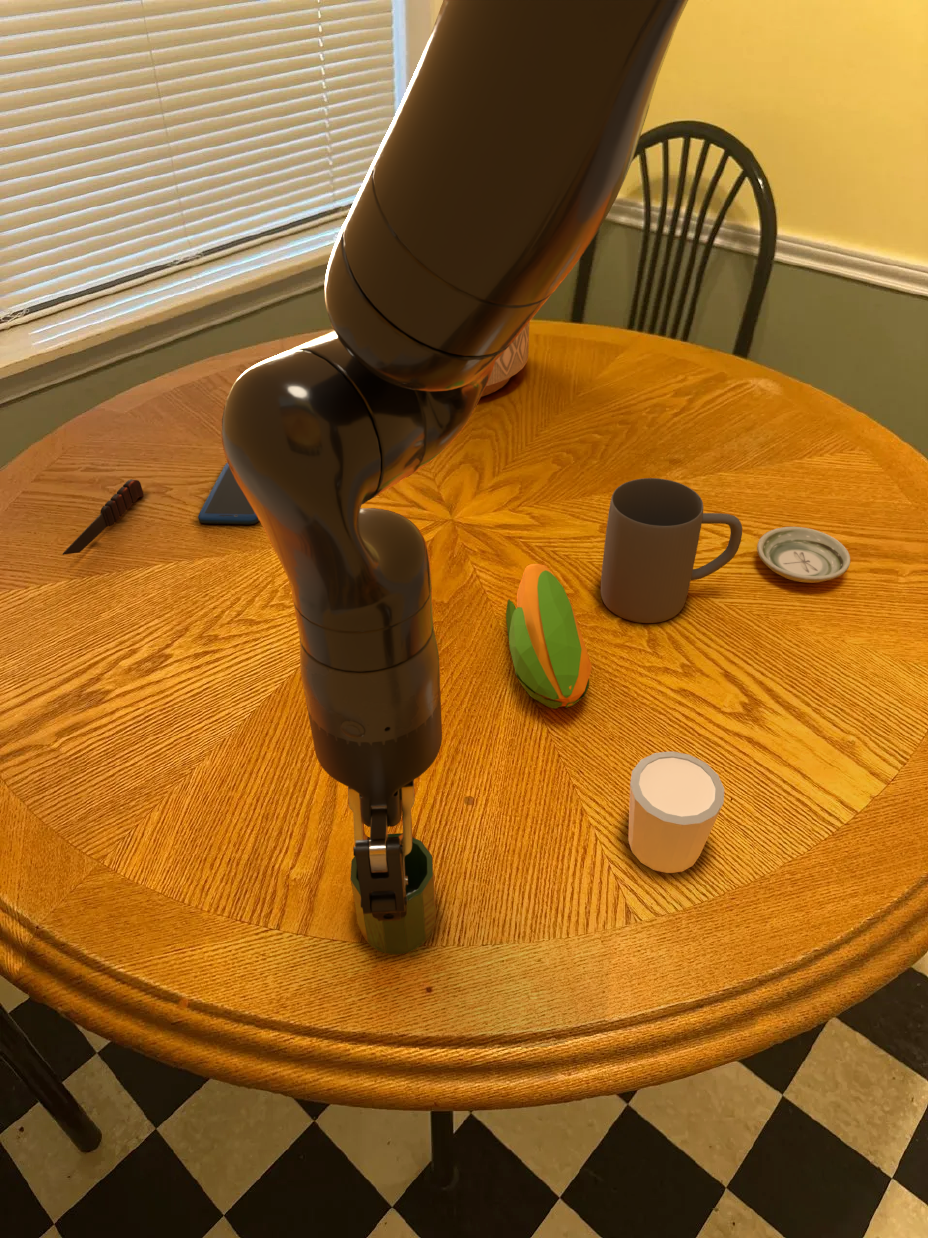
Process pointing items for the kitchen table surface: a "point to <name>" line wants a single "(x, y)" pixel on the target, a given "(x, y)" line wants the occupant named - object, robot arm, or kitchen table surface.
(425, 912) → the green faceted cup
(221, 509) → the cell phone
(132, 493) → the knife
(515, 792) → the kitchen table surface
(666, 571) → the mug
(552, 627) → the corn
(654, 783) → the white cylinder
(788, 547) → the saucer
